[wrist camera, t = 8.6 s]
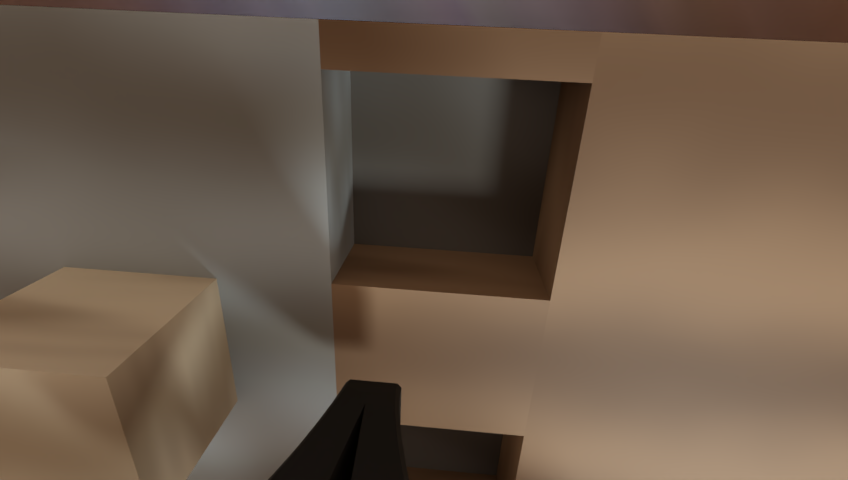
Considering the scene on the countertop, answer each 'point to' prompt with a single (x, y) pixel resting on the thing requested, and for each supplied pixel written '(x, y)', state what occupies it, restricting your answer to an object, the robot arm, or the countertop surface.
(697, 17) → the countertop surface
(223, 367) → the block
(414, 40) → the trap board
